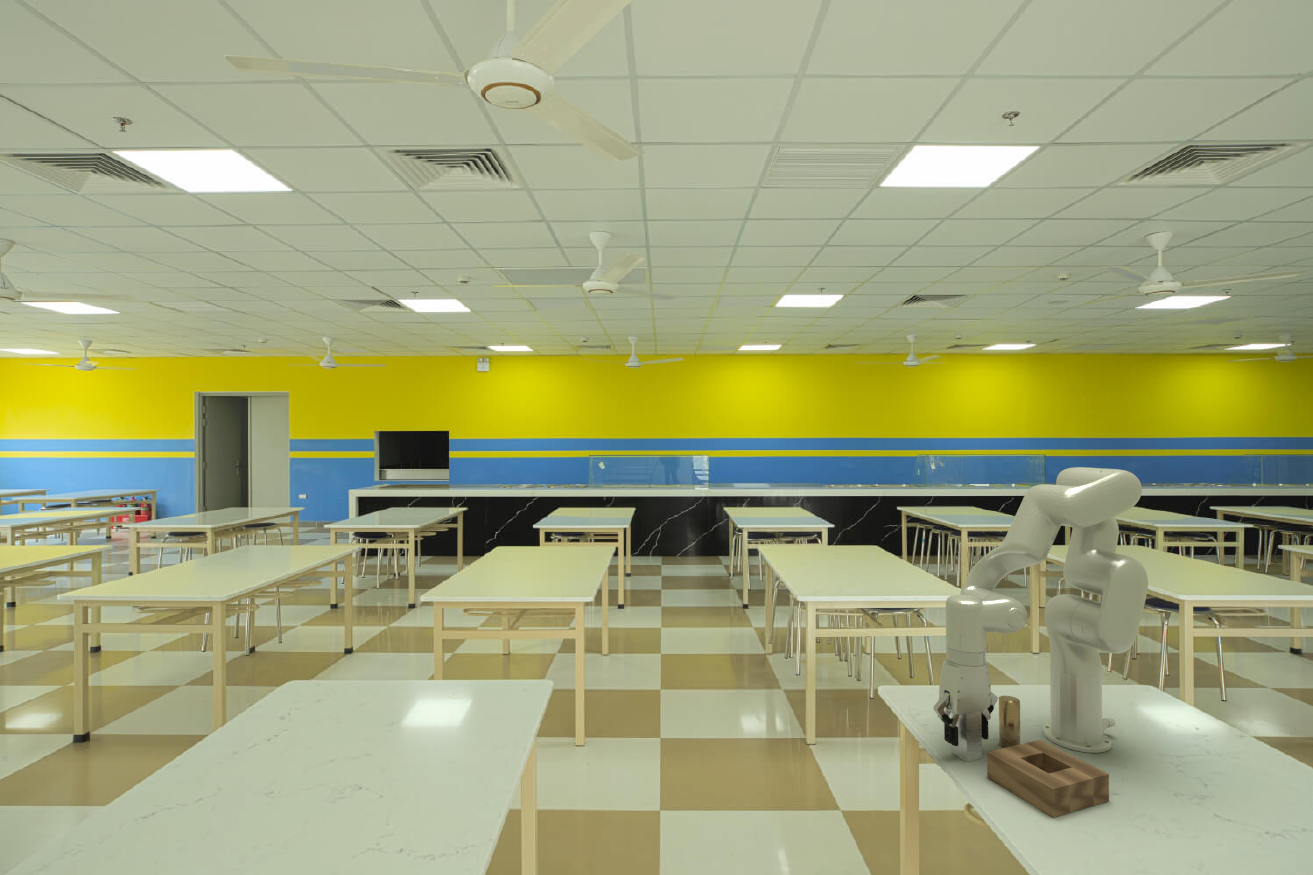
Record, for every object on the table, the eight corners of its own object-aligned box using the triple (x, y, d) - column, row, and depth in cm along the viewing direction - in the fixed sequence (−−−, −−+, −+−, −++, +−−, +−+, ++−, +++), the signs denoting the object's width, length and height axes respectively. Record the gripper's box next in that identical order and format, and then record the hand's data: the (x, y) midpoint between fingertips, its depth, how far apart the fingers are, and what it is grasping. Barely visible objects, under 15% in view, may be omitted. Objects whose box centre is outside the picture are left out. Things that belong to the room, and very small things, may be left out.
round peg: (1008, 739, 140) (1008, 694, 140) (1024, 748, 136) (1024, 701, 136) (994, 742, 139) (994, 697, 139) (1010, 751, 135) (1010, 704, 135)
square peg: (966, 749, 136) (966, 702, 136) (981, 758, 132) (981, 710, 132) (951, 752, 135) (951, 705, 135) (966, 761, 131) (966, 713, 131)
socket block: (1039, 764, 130) (1039, 739, 130) (1109, 801, 116) (1108, 773, 116) (987, 777, 125) (987, 752, 125) (1053, 817, 112) (1052, 789, 112)
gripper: (982, 645, 140) (983, 725, 140) (919, 655, 134) (920, 739, 134) (1012, 656, 133) (1013, 740, 133) (946, 667, 127) (947, 755, 127)
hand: (966, 739), depth 133 cm, fingers open, 7 cm apart
